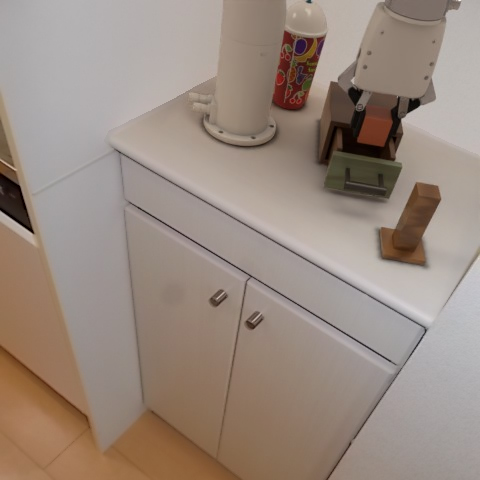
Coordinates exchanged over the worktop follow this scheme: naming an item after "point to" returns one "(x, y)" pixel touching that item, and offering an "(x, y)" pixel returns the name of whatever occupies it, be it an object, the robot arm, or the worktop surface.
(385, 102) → the cabinet
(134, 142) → the worktop surface
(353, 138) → the drawer
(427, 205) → the stand
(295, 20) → the smoothie
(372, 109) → the block
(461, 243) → the worktop surface
